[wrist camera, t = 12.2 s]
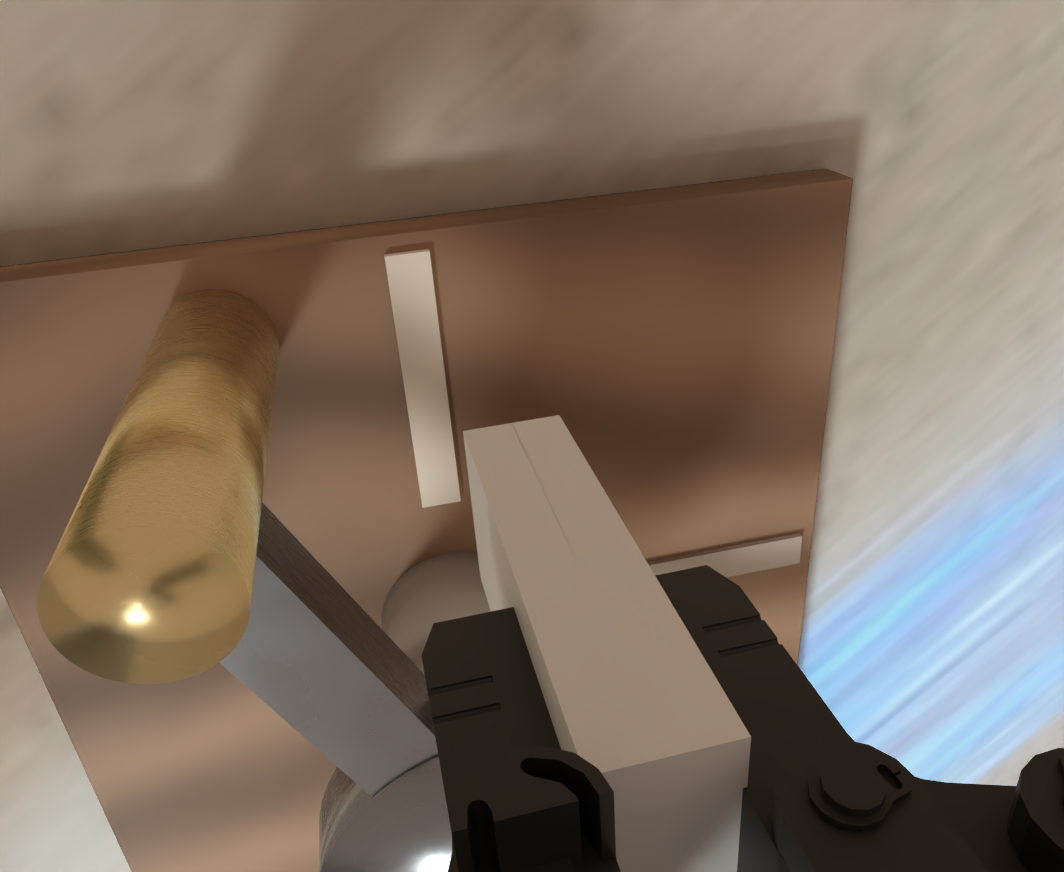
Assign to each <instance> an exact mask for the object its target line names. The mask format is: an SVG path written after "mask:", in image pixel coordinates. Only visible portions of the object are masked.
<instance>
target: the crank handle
mask: <svg viewBox="0 0 1064 872" xmlns="http://www.w3.org/2000/svg"><path fill="white" fill-rule="evenodd" d="M278 354H279V339H278V335H277V331H276V329H275V326H274V324H273V322H272V320H271V319H270V317H269V316H268V315H267V313H266V312H265V311H264V310H263V309H262V308H261V307H260V306H259V305H258V304H256V303H255V302H253V301H252V300H250V299H249V298H247V297H245V296H243V295H241V294H238V293H235V292H232V291H227V290H220V289H208V290H201V291H197V292H193V293H191V294H188V295H186V296H184V297H183V298H181V299H179V300H178V301H177V302H175V303H174V304H173V305H172V306H171V307H170V308H169V310H168V311H167V312H166V314H165V315H164V317H163V319H162V321H161V323H160V326H159V328H158V330H157V332H156V334H155V336H154V339H153V341H152V343H151V345H150V347H149V349H148V352H147V354H146V356H145V358H144V360H143V362H142V365H141V367H140V369H139V371H138V373H137V375H136V378H135V380H134V382H133V384H132V386H131V388H130V391H129V393H128V395H127V397H126V399H125V401H124V404H123V406H122V408H121V410H120V412H119V414H118V417H117V419H116V421H115V423H114V425H113V427H112V430H111V432H110V434H109V436H108V438H107V440H106V443H105V445H104V447H103V449H102V451H101V453H100V456H99V458H98V460H97V462H96V464H95V466H94V469H93V471H92V473H91V475H90V477H89V479H88V482H87V484H86V486H85V488H84V490H83V492H82V494H81V497H80V499H79V501H78V503H77V505H76V507H75V510H74V512H73V514H72V516H71V518H70V520H69V523H68V525H67V527H66V529H65V531H64V533H63V536H62V538H61V540H60V542H59V544H58V546H57V549H56V551H55V553H54V555H53V557H52V559H51V562H50V564H49V566H48V568H47V570H46V572H45V575H44V577H43V579H42V581H41V584H40V587H39V591H38V597H37V612H38V617H39V621H40V624H41V626H42V629H43V631H44V633H45V635H46V636H47V638H48V639H49V641H50V643H51V644H52V645H53V646H54V647H55V648H56V650H57V651H58V652H59V653H61V654H62V655H63V656H64V657H65V658H66V659H67V660H69V661H70V662H72V663H73V664H75V665H76V666H78V667H80V668H82V669H83V670H85V671H87V672H89V673H92V674H94V675H97V676H99V677H102V678H106V679H109V680H113V681H118V682H123V683H131V684H162V683H169V682H174V681H179V680H183V679H186V678H190V677H192V676H195V675H197V674H200V673H202V672H204V671H206V670H208V669H210V668H212V667H213V666H215V665H216V664H218V663H220V664H222V665H223V666H224V667H225V668H226V669H227V670H228V671H230V672H231V673H232V674H233V675H234V676H235V677H236V678H237V679H239V680H240V681H241V682H242V683H243V684H244V685H245V686H247V687H248V688H249V689H250V690H251V691H252V692H253V693H254V694H256V695H257V696H258V697H259V698H260V699H261V700H262V701H264V702H265V703H266V704H267V705H268V706H269V707H270V708H271V709H273V710H274V711H275V712H276V713H277V714H278V715H279V716H281V717H282V718H283V719H284V720H285V721H286V722H287V723H288V724H290V725H291V726H292V727H293V728H294V729H295V730H296V731H298V732H299V733H300V734H301V735H302V736H303V737H304V738H306V739H307V740H308V741H309V742H310V743H311V744H312V745H313V746H315V747H316V748H317V749H318V750H319V751H320V752H321V753H323V754H324V755H325V756H326V757H327V758H328V759H329V760H330V761H332V762H333V763H334V764H335V765H336V766H337V767H336V769H335V771H334V773H333V775H332V777H331V779H330V780H329V782H328V784H327V787H326V790H325V793H324V796H323V799H322V803H321V810H320V817H319V872H448V868H449V864H450V860H451V855H452V833H451V827H450V821H449V816H448V810H447V804H446V798H445V792H444V786H443V781H442V775H441V769H440V763H439V757H438V751H437V746H436V740H435V734H434V728H433V722H432V716H431V710H430V704H429V698H428V692H427V686H426V680H425V675H424V674H423V672H422V671H421V670H420V669H419V668H418V667H417V666H416V665H415V664H414V663H413V662H412V661H411V660H410V659H409V658H408V657H407V655H406V654H405V653H404V652H403V651H402V650H401V649H400V648H399V647H398V646H397V645H396V644H395V643H394V642H393V641H392V639H391V638H390V637H389V636H388V635H387V634H386V633H385V632H384V631H383V630H382V629H381V628H380V627H379V626H378V625H377V624H376V622H375V621H374V620H373V619H372V618H371V617H370V616H369V615H368V614H367V613H366V612H365V611H364V610H363V609H362V608H361V606H360V605H359V604H358V603H357V602H356V601H355V600H354V599H353V598H352V597H351V596H350V595H349V594H348V593H347V592H346V591H345V589H344V588H343V587H342V586H341V585H340V584H339V583H338V582H337V581H336V580H335V579H334V578H333V577H332V576H331V575H330V573H329V572H328V571H327V570H326V569H325V568H324V567H323V566H322V565H321V564H320V563H319V562H318V561H317V560H316V559H315V558H314V556H313V555H312V554H311V553H310V552H309V551H308V550H307V549H306V548H305V547H304V546H303V545H302V544H301V543H300V542H299V541H298V539H297V538H296V537H295V536H294V535H293V534H292V533H291V532H290V531H289V530H288V529H287V528H286V527H285V526H284V525H283V523H282V522H281V521H280V520H279V519H278V518H277V517H276V516H275V515H274V514H273V513H272V512H271V511H270V510H269V509H268V508H267V506H266V505H265V504H264V503H263V502H262V498H263V489H264V480H265V471H266V462H267V453H268V444H269V435H270V426H271V417H272V408H273V399H274V390H275V381H276V372H277V363H278Z"/></svg>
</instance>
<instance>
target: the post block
mask: <svg viewBox="0 0 1064 872" xmlns="http://www.w3.org/2000/svg"><path fill="white" fill-rule="evenodd" d="M852 182H853V179H852V178H849V177H847V176H844V175H842V174H839V173H836V172H834V171H831V170H828V169H821V170H812V171H804V172H795V173H787V174H779V175H770V176H762V177H753V178H745V179H737V180H728V181H720V182H711V183H703V184H695V185H686V186H678V187H669V188H661V189H652V190H644V191H636V192H627V193H619V194H610V195H602V196H594V197H585V198H577V199H568V200H560V201H551V202H543V203H535V204H526V205H518V206H509V207H501V208H493V209H484V210H476V211H467V212H459V213H451V214H442V215H434V216H425V217H417V218H408V219H400V220H392V221H383V222H375V223H366V224H358V225H350V226H341V227H333V228H324V229H316V230H308V231H299V232H291V233H282V234H274V235H265V236H257V237H249V238H240V239H232V240H223V241H215V242H207V243H198V244H190V245H181V246H173V247H165V248H156V249H148V250H139V251H131V252H122V253H114V254H106V255H97V256H89V257H80V258H72V259H64V260H55V261H47V262H38V263H30V264H22V265H13V266H5V267H0V587H1V589H2V592H3V594H4V596H5V598H6V600H7V602H8V605H9V607H10V609H11V611H12V613H13V615H14V618H15V620H16V622H17V624H18V626H19V628H20V631H21V633H22V635H23V637H24V639H25V641H26V644H27V646H28V648H29V650H30V652H31V654H32V657H33V659H34V661H35V663H36V665H37V667H38V670H39V672H40V674H41V676H42V678H43V680H44V683H45V685H46V687H47V689H48V691H49V693H50V696H51V698H52V700H53V702H54V704H55V706H56V709H57V711H58V713H59V715H60V717H61V719H62V722H63V724H64V726H65V728H66V730H67V732H68V735H69V737H70V739H71V741H72V743H73V745H74V748H75V750H76V752H77V754H78V756H79V758H80V761H81V763H82V765H83V767H84V769H85V771H86V774H87V776H88V778H89V780H90V782H91V784H92V787H93V789H94V791H95V793H96V795H97V797H98V800H99V802H100V804H101V806H102V808H103V810H104V813H105V815H106V817H107V819H108V821H109V823H110V825H111V828H112V830H113V832H114V834H115V836H116V838H117V841H118V843H119V845H120V847H121V849H122V851H123V854H124V856H125V858H126V860H127V862H128V864H129V867H130V869H131V871H132V872H319V817H320V810H321V803H322V799H323V796H324V793H325V790H326V787H327V784H328V782H329V780H330V779H331V777H332V775H333V773H334V771H335V769H336V767H337V766H336V765H335V764H334V763H333V762H332V761H330V760H329V759H328V758H327V757H326V756H325V755H324V754H323V753H321V752H320V751H319V750H318V749H317V748H316V747H315V746H313V745H312V744H311V743H310V742H309V741H308V740H307V739H306V738H304V737H303V736H302V735H301V734H300V733H299V732H298V731H296V730H295V729H294V728H293V727H292V726H291V725H290V724H288V723H287V722H286V721H285V720H284V719H283V718H282V717H281V716H279V715H278V714H277V713H276V712H275V711H274V710H273V709H271V708H270V707H269V706H268V705H267V704H266V703H265V702H264V701H262V700H261V699H260V698H259V697H258V696H257V695H256V694H254V693H253V692H252V691H251V690H250V689H249V688H248V687H247V686H245V685H244V684H243V683H242V682H241V681H240V680H239V679H237V678H236V677H235V676H234V675H233V674H232V673H231V672H230V671H228V670H227V669H226V668H225V667H224V666H223V665H222V664H220V663H218V664H216V665H215V666H213V667H212V668H210V669H208V670H206V671H204V672H202V673H200V674H197V675H195V676H192V677H190V678H186V679H183V680H179V681H174V682H169V683H162V684H131V683H123V682H118V681H113V680H109V679H106V678H102V677H99V676H97V675H94V674H92V673H89V672H87V671H85V670H83V669H82V668H80V667H78V666H76V665H75V664H73V663H72V662H70V661H69V660H67V659H66V658H65V657H64V656H63V655H62V654H61V653H59V652H58V651H57V650H56V648H55V647H54V646H53V645H52V644H51V643H50V641H49V639H48V638H47V636H46V635H45V633H44V631H43V629H42V626H41V624H40V621H39V617H38V612H37V597H38V591H39V587H40V584H41V581H42V579H43V577H44V575H45V572H46V570H47V568H48V566H49V564H50V562H51V559H52V557H53V555H54V553H55V551H56V549H57V546H58V544H59V542H60V540H61V538H62V536H63V533H64V531H65V529H66V527H67V525H68V523H69V520H70V518H71V516H72V514H73V512H74V510H75V507H76V505H77V503H78V501H79V499H80V497H81V494H82V492H83V490H84V488H85V486H86V484H87V482H88V479H89V477H90V475H91V473H92V471H93V469H94V466H95V464H96V462H97V460H98V458H99V456H100V453H101V451H102V449H103V447H104V445H105V443H106V440H107V438H108V436H109V434H110V432H111V430H112V427H113V425H114V423H115V421H116V419H117V417H118V414H119V412H120V410H121V408H122V406H123V404H124V401H125V399H126V397H127V395H128V393H129V391H130V388H131V386H132V384H133V382H134V380H135V378H136V375H137V373H138V371H139V369H140V367H141V365H142V362H143V360H144V358H145V356H146V354H147V352H148V349H149V347H150V345H151V343H152V341H153V339H154V336H155V334H156V332H157V330H158V328H159V326H160V323H161V321H162V319H163V317H164V315H165V314H166V312H167V311H168V310H169V308H170V307H171V306H172V305H173V304H174V303H175V302H177V301H178V300H179V299H181V298H183V297H184V296H186V295H188V294H191V293H193V292H197V291H201V290H208V289H220V290H227V291H232V292H235V293H238V294H241V295H243V296H245V297H247V298H249V299H250V300H252V301H253V302H255V303H256V304H258V305H259V306H260V307H261V308H262V309H263V310H264V311H265V312H266V313H267V315H268V316H269V317H270V319H271V320H272V322H273V324H274V326H275V329H276V331H277V335H278V339H279V354H278V363H277V372H276V381H275V390H274V399H273V408H272V417H271V426H270V435H269V444H268V453H267V462H266V471H265V480H264V489H263V498H262V502H263V503H264V504H265V505H266V506H267V508H268V509H269V510H270V511H271V512H272V513H273V514H274V515H275V516H276V517H277V518H278V519H279V520H280V521H281V522H282V523H283V525H284V526H285V527H286V528H287V529H288V530H289V531H290V532H291V533H292V534H293V535H294V536H295V537H296V538H297V539H298V541H299V542H300V543H301V544H302V545H303V546H304V547H305V548H306V549H307V550H308V551H309V552H310V553H311V554H312V555H313V556H314V558H315V559H316V560H317V561H318V562H319V563H320V564H321V565H322V566H323V567H324V568H325V569H326V570H327V571H328V572H329V573H330V575H331V576H332V577H333V578H334V579H335V580H336V581H337V582H338V583H339V584H340V585H341V586H342V587H343V588H344V589H345V591H346V592H347V593H348V594H349V595H350V596H351V597H352V598H353V599H354V600H355V601H356V602H357V603H358V604H359V605H360V606H361V608H362V609H363V610H364V611H365V612H366V613H367V614H368V615H369V616H370V617H371V618H372V619H373V620H374V621H375V622H376V624H377V625H378V626H379V627H380V628H381V629H382V630H383V631H384V632H385V633H386V634H387V635H388V636H389V637H390V638H391V639H392V641H393V642H394V643H395V644H396V645H397V646H398V647H399V648H400V649H401V650H402V651H403V652H404V653H405V654H406V655H407V657H408V658H409V659H410V660H411V661H412V662H413V663H414V664H415V665H416V666H417V667H418V668H419V669H420V670H421V671H422V672H423V674H424V669H423V663H422V657H421V655H422V652H423V650H424V647H425V644H426V642H427V639H428V636H429V634H430V631H431V628H432V626H433V623H437V622H442V621H447V620H452V619H457V618H462V617H467V616H472V615H477V614H481V613H486V612H491V611H490V608H489V604H488V601H487V597H486V594H485V591H484V587H483V584H482V581H481V577H480V570H479V561H478V553H477V545H476V536H475V528H474V519H473V511H472V503H471V494H470V486H469V478H468V469H467V461H466V452H465V444H464V436H463V431H466V430H472V429H478V428H484V427H490V426H496V425H502V424H508V423H514V422H520V421H526V420H532V419H538V418H544V417H550V416H556V415H560V417H561V419H562V420H563V422H564V424H565V425H566V427H567V429H568V430H569V432H570V434H571V436H572V437H573V439H574V441H575V442H576V444H577V446H578V447H579V449H580V451H581V452H582V454H583V456H584V457H585V459H586V461H587V462H588V464H589V466H590V467H591V469H592V471H593V472H594V474H595V476H596V477H597V479H598V481H599V482H600V484H601V486H602V487H603V489H604V491H605V493H606V494H607V496H608V498H609V499H610V501H611V503H612V504H613V506H614V508H615V509H616V511H617V513H618V514H619V516H620V518H621V519H622V521H623V523H624V524H625V526H626V528H627V529H628V531H629V533H630V534H631V536H632V538H633V539H634V541H635V543H636V545H637V546H638V548H639V550H640V551H641V553H642V555H643V556H644V558H645V560H646V561H647V563H648V565H649V566H650V568H651V570H652V571H653V573H654V575H660V574H665V573H670V572H675V571H680V570H685V569H690V568H694V567H699V566H704V565H708V566H709V567H711V568H712V569H714V570H715V571H717V572H719V573H720V574H722V575H723V576H725V577H726V578H728V579H729V580H731V581H732V582H734V583H736V584H737V585H739V586H740V587H741V589H742V590H743V591H744V593H745V594H746V595H747V597H748V598H749V600H750V601H751V602H752V604H753V605H754V606H755V608H756V609H757V611H758V612H759V613H760V617H761V620H765V622H766V623H767V624H768V626H769V627H770V628H771V630H772V631H773V633H774V634H775V635H776V637H777V640H778V643H779V644H782V645H783V646H784V648H785V649H786V650H787V652H788V653H789V655H790V656H791V657H792V659H793V660H794V661H795V663H796V664H797V663H798V654H799V645H800V637H801V628H802V619H803V610H804V602H805V593H806V584H807V575H808V567H809V558H810V549H811V540H812V532H813V523H814V514H815V505H816V497H817V488H818V479H819V471H820V462H821V453H822V444H823V436H824V427H825V418H826V409H827V401H828V392H829V383H830V374H831V366H832V357H833V348H834V340H835V331H836V322H837V313H838V305H839V296H840V287H841V278H842V270H843V261H844V252H845V243H846V235H847V226H848V217H849V208H850V200H851V191H852ZM424 675H425V674H424Z"/></svg>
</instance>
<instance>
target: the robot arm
mask: <svg viewBox="0 0 1064 872" xmlns="http://www.w3.org/2000/svg"><path fill="white" fill-rule="evenodd" d="M463 436H464V444H465V452H466V461H467V469H468V478H469V486H470V494H471V503H472V511H473V519H474V528H475V536H476V545H477V553H478V561H479V570H480V577H481V581H482V584H483V587H484V591H485V594H486V597H487V601H488V604H489V608H490V611H491V612H486V613H481V614H477V615H472V616H467V617H462V618H457V619H452V620H447V621H442V622H437V623H433V626H432V628H431V631H430V634H429V636H428V639H427V642H426V644H425V647H424V650H423V652H422V655H421V657H422V663H423V669H424V674H425V680H426V686H427V692H428V698H429V704H430V710H431V716H432V722H433V728H434V734H435V740H436V746H437V751H438V757H439V763H440V769H441V775H442V781H443V786H444V792H445V798H446V804H447V810H448V816H449V821H450V827H451V833H452V855H451V860H450V864H449V868H448V872H1064V748H1057V749H1054V750H1051V751H1048V752H1044V753H1041V754H1038V755H1035V756H1034V757H1033V758H1032V759H1031V760H1030V762H1029V763H1028V764H1027V765H1026V766H1025V767H1024V768H1023V769H1022V770H1021V773H1020V777H1019V780H1018V784H1017V786H1000V785H980V784H961V783H945V782H938V781H931V780H924V779H920V778H917V777H914V776H913V775H912V774H911V773H910V772H909V771H908V770H907V769H906V768H905V767H904V766H903V765H902V764H901V763H900V762H899V761H897V760H896V759H895V758H893V757H891V756H889V755H887V754H885V753H883V752H881V751H879V750H878V749H876V748H874V747H872V746H870V745H866V744H862V743H857V742H855V741H854V740H853V739H852V738H851V737H850V736H849V735H848V734H847V733H846V731H845V730H844V729H843V727H842V726H841V725H840V723H839V722H838V720H837V719H836V718H835V716H834V715H833V714H832V712H831V711H830V709H829V708H828V707H827V705H826V704H825V703H824V701H823V700H822V698H821V697H820V696H819V694H818V693H817V692H816V690H815V689H814V687H813V686H812V685H811V683H810V682H809V681H808V679H807V678H806V676H805V675H804V674H803V672H802V671H801V670H800V668H799V667H798V665H797V664H796V663H795V661H794V660H793V659H792V657H791V656H790V655H789V653H788V652H787V650H786V649H785V648H784V646H783V645H782V644H779V643H778V640H777V637H776V635H775V634H774V633H773V631H772V630H771V628H770V627H769V626H768V624H767V623H766V622H765V620H761V617H760V613H759V612H758V611H757V609H756V608H755V606H754V605H753V604H752V602H751V601H750V600H749V598H748V597H747V595H746V594H745V593H744V591H743V590H742V589H741V587H740V586H739V585H737V584H736V583H734V582H732V581H731V580H729V579H728V578H726V577H725V576H723V575H722V574H720V573H719V572H717V571H715V570H714V569H712V568H711V567H709V566H708V565H704V566H699V567H694V568H690V569H685V570H680V571H675V572H670V573H665V574H660V575H654V573H653V571H652V570H651V568H650V566H649V565H648V563H647V561H646V560H645V558H644V556H643V555H642V553H641V551H640V550H639V548H638V546H637V545H636V543H635V541H634V539H633V538H632V536H631V534H630V533H629V531H628V529H627V528H626V526H625V524H624V523H623V521H622V519H621V518H620V516H619V514H618V513H617V511H616V509H615V508H614V506H613V504H612V503H611V501H610V499H609V498H608V496H607V494H606V493H605V491H604V489H603V487H602V486H601V484H600V482H599V481H598V479H597V477H596V476H595V474H594V472H593V471H592V469H591V467H590V466H589V464H588V462H587V461H586V459H585V457H584V456H583V454H582V452H581V451H580V449H579V447H578V446H577V444H576V442H575V441H574V439H573V437H572V436H571V434H570V432H569V430H568V429H567V427H566V425H565V424H564V422H563V420H562V419H561V417H560V415H556V416H550V417H544V418H538V419H532V420H526V421H520V422H514V423H508V424H502V425H496V426H490V427H484V428H478V429H472V430H466V431H463Z"/></svg>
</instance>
